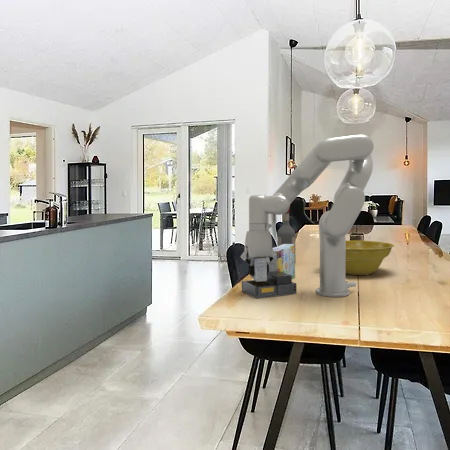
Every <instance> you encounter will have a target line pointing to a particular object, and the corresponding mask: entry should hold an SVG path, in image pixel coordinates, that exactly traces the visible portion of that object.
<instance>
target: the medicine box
mask: <svg viewBox="0 0 450 450" xmlns="http://www.w3.org/2000/svg"><path fill="white" fill-rule="evenodd" d="M253 266H254V267H255V275H254V276H251V275H250V277H251V279H252V280H255V281H256V282H261V281H267V259H266V258H264V257H261V258H255V259H254V263H253Z"/></svg>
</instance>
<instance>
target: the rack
mask: <svg viewBox="0 0 450 450" xmlns="http://www.w3.org/2000/svg"><path fill="white" fill-rule="evenodd" d="M292 279H293V278H292V275H289V274H286V273H283V272H281V271H271V272H268V275H267V281H261V282H256V281H255V280H254V279H249V280H242V281H241V292H242V293H244V292H245V293H244V294H246V293H247V295H248V294H249V296H250V295H251V297H252V296H253V297H252V298H254V297H255V299H264V297H265V298H273V297H280V296H282V297H283V296H289V295H297V289H298V288H297V283H296V282H294V281H293V280H292Z"/></svg>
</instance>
